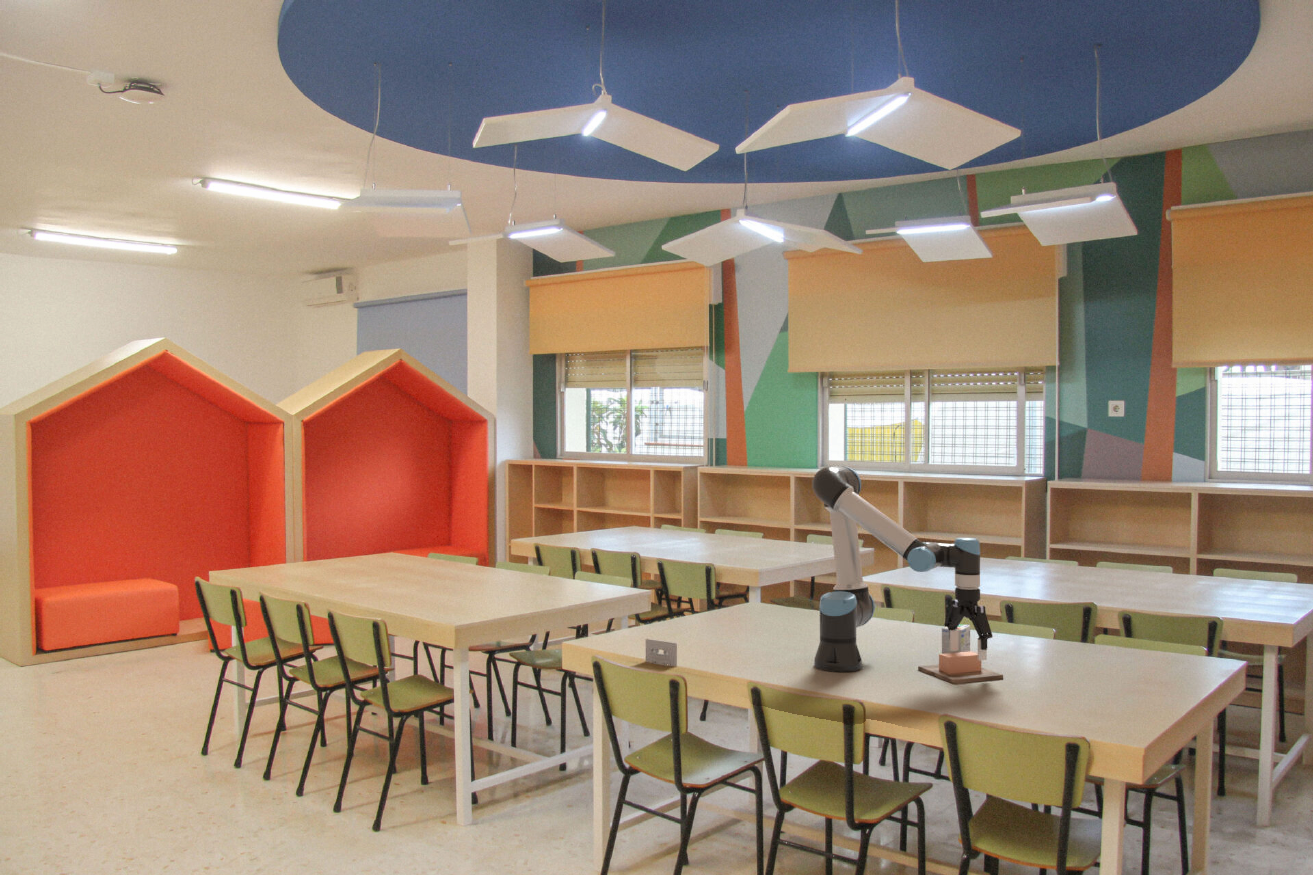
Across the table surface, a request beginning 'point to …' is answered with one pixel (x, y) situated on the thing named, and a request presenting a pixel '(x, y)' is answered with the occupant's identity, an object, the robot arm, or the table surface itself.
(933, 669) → the walnut board
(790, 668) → the table surface
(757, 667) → the table surface
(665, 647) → the cassette
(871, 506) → the robot arm
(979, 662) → the terracotta block
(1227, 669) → the table surface
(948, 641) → the light bulb box
